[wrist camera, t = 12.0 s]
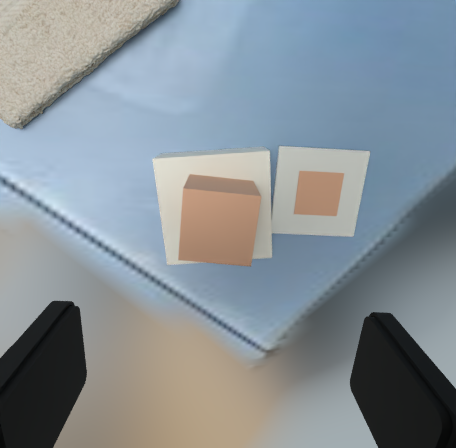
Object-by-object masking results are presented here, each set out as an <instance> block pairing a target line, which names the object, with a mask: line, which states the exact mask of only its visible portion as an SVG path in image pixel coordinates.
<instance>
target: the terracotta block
mask: <svg viewBox="0 0 456 448" xmlns="http://www.w3.org/2000/svg"><path fill="white" fill-rule="evenodd" d="M260 203H261V194H260V193H259V191H258V189H257V187H256V185H255V183H254V181H250V180H241V179H231V178H222V177H213V176H203V175H194V174H190V175H189V177H188V179H187V181H186V183H185V185H184V187H183V197H182V212H181V226H180V241H179V255H178V260H183V261H195V262H206V263H217V264H228V265H240V266H251V263H252V256H253V249H254V243H255V236H256V229H257V223H258V216H259V209H260Z"/></svg>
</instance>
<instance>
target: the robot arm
mask: <svg viewBox="0 0 456 448" xmlns="http://www.w3.org/2000/svg"><path fill="white" fill-rule="evenodd" d="M86 375H87V370H86V361H85V352H84V343H83V334H82V325H81V316H80V309H79V307H78V306H75V305H74V303H73V302H72V301H52V302H51V303H50V304H49V305H48V306H47V307H46V309H45V310H44V311H43V312H42V313H41V314H40V315H39V316H38V318H37V319H36V320H35V321H34V322H33V323H32V324H31V325H30V327H29V328H28V329H27V330H26V331H25V332H24V333H23V335H22V336H21V337H20V338H19V339H18V340H17V341H16V342H15V343H14V344H13V345H12V346H11V347H10V348H9V349H8V350H7V351H6V353H5V354H4V355H3V356H2V357H1V358H0V448H53V447H54V444H55V442H56V440H57V438H58V436H59V434H60V432H61V430H62V428H63V426H64V424H65V422H66V420H67V418H68V416H69V414H70V412H71V410H72V408H73V406H74V404H75V402H76V400H77V398H78V396H79V394H80V392H81V390H82V388H83V386H84V384H85V381H86ZM350 387H351V391H352V393H353V395H354V397H355V399H356V401H357V404H358V406H359V408H360V410H361V412H362V414H363V416H364V419H365V421H366V423H367V425H368V427H369V429H370V431H371V433H372V435H373V438H374V440H375V441H376V444H377V446H378V448H456V389H455V387H454V386H453V385H452V384H451V383H450V382H449V380H448V379H447V378H446V377H445V376H444V374H443V373H442V372H441V371H440V370H439V369H438V367H437V366H436V365H435V364H434V363H433V362H432V361H431V359H430V358H429V357H428V356H427V355H426V354H425V353H424V351H423V350H422V349H421V348H420V347H419V345H418V344H417V343H416V342H415V341H414V339H413V338H412V337H411V336H410V335H409V334H408V332H407V331H406V330H405V329H404V328H403V327H402V325H401V324H400V323H399V322H398V321H397V320H396V318H395V317H394V316H393V315H392V314H391V313H377V312H373V313H371V314H370V315H369V317H366V318H365V319H364V323H363V327H362V331H361V335H360V340H359V344H358V348H357V353H356V357H355V361H354V365H353V370H352V374H351V378H350Z"/></svg>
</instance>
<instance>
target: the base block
mask: <svg viewBox="0 0 456 448" xmlns="http://www.w3.org/2000/svg"><path fill="white" fill-rule="evenodd" d="M153 166H154V173H155V180H156V187H157V194H158V202H159V209H160V216H161V223H162V230H163V237H164V245H165V252H166V259H167V265H175V264H189V263H204V262H195V261H183V260H178V255H179V241H180V226H181V212H182V197H183V187H184V185H185V183H186V181H187V179H188V177H189V175H190V174H194V175H203V176H213V177H222V178H231V179H241V180H250V181H254V183H255V185H256V187H257V189H258V191H259V193H260V194H261V203H260V209H259V216H258V223H257V229H256V236H255V243H254V249H253V256H252V259H261V258H272V227H271V178H270V151H269V150H268V149H267V148H265V147H264V146H263V147H248V148H233V149H219V150H204V151H189V152H175V153H161V154H159V155H158V156H156V157H155V158H153Z"/></svg>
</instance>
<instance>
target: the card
mask: <svg viewBox="0 0 456 448" xmlns="http://www.w3.org/2000/svg"><path fill="white" fill-rule="evenodd" d="M369 156H370V151H361V150H344V149H327V148H309V147H292V146H279V148H278V157H277V166H276V176H275V185H274V194H273V204H272V213H271V227H272V233H278V234H300V235H323V236H345V237H353V236H354V231H355V226H356V221H357V216H358V211H359V206H360V201H361V196H362V191H363V186H364V181H365V176H366V171H367V166H368V161H369Z"/></svg>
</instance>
